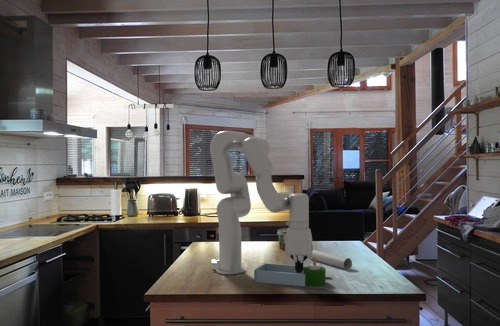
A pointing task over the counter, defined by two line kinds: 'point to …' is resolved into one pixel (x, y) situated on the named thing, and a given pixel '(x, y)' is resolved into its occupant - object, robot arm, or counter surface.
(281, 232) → the food container
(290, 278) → the pale blue tray
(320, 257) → the tube
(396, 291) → the counter surface
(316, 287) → the strips
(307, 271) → the candle
